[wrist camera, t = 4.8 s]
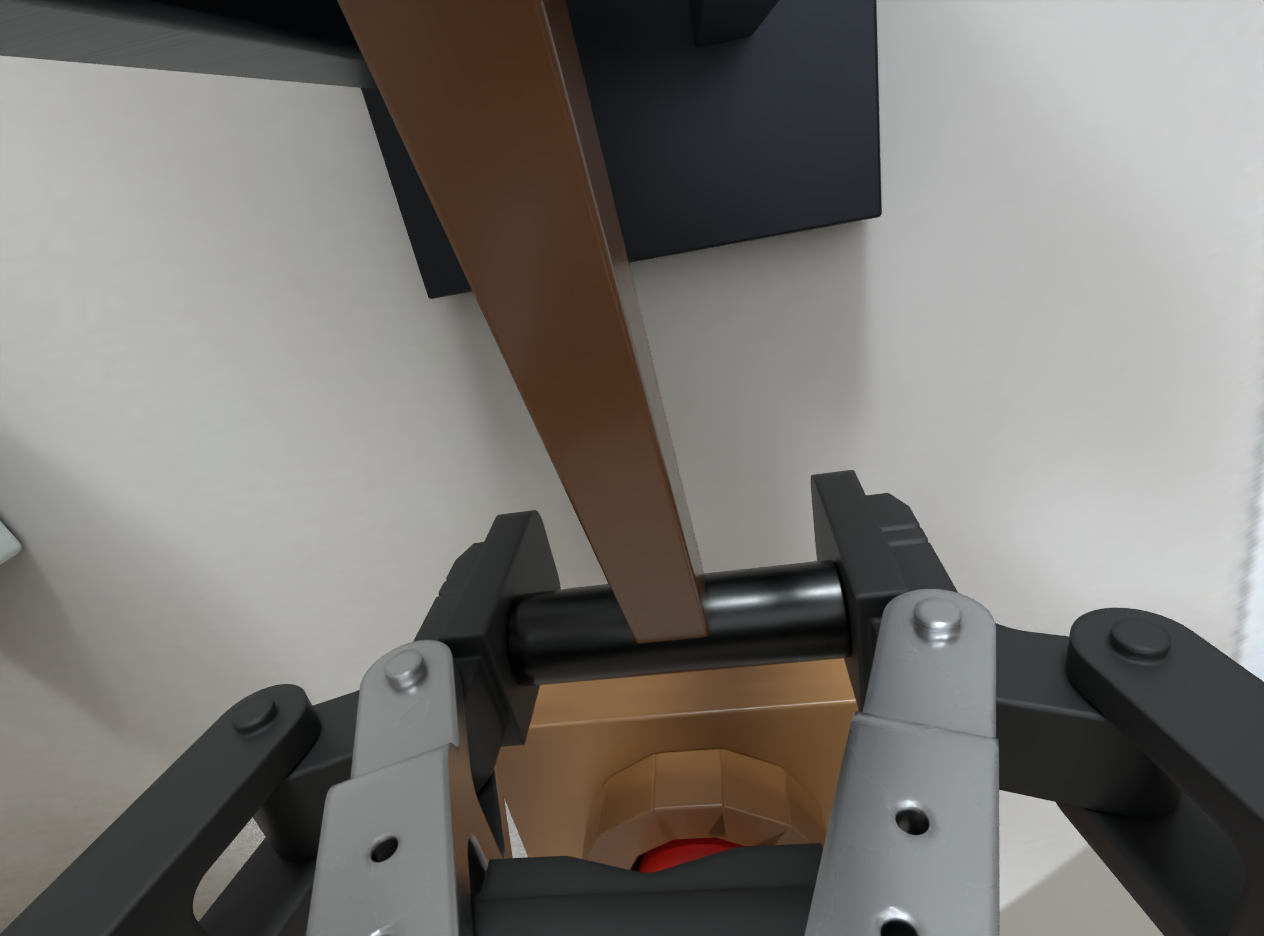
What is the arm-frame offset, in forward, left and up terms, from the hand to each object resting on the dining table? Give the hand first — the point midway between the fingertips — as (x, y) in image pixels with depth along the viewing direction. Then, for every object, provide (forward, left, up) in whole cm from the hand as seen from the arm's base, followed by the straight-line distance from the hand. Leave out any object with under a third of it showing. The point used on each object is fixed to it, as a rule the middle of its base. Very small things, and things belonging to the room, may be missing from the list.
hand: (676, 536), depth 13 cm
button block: (-1, -11, -4) cm, 12 cm away
